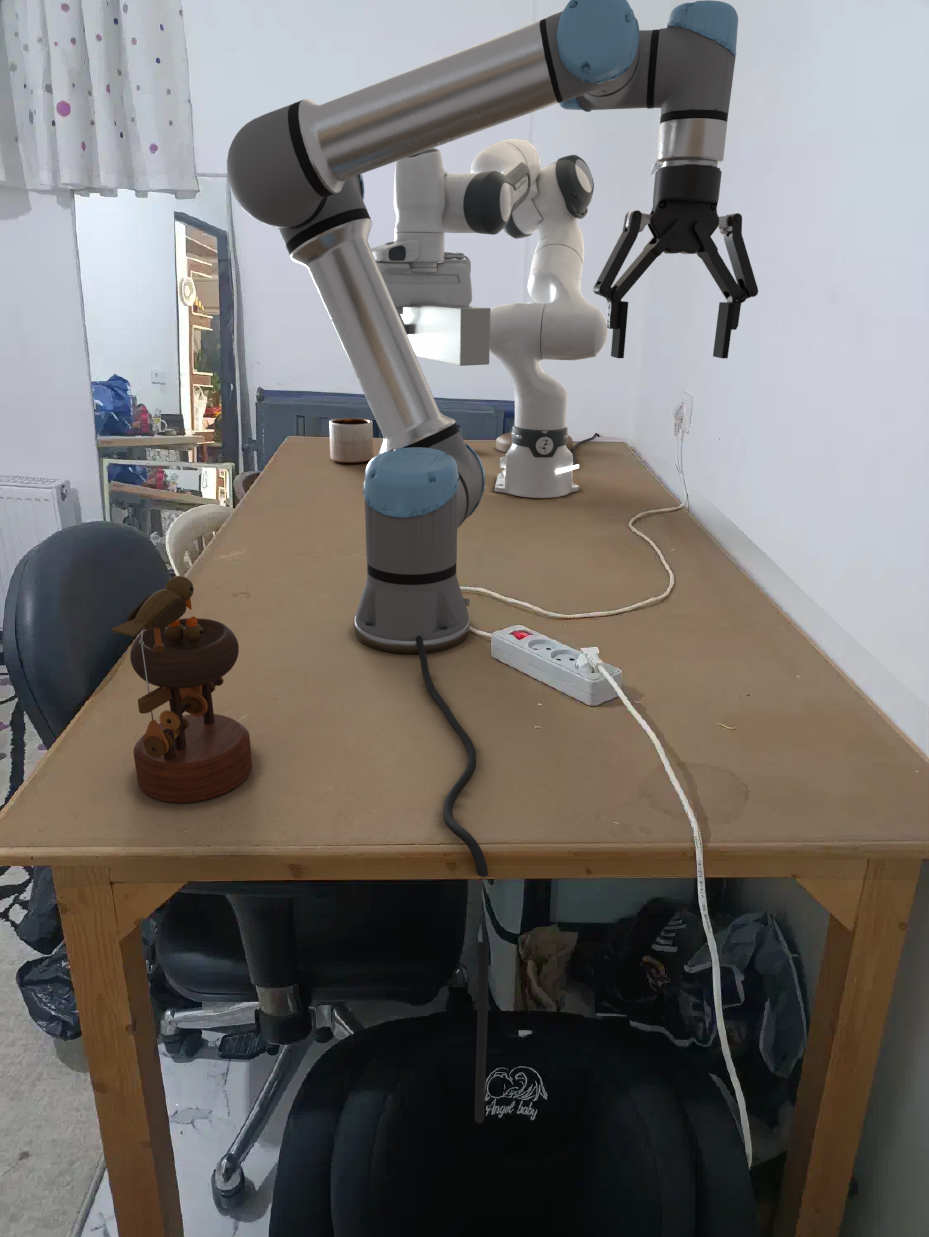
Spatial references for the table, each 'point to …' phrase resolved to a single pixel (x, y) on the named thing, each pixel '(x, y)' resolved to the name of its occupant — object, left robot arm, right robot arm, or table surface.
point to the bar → (449, 332)
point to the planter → (351, 440)
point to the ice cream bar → (505, 442)
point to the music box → (184, 700)
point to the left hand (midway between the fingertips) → (669, 357)
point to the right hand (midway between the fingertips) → (420, 334)
